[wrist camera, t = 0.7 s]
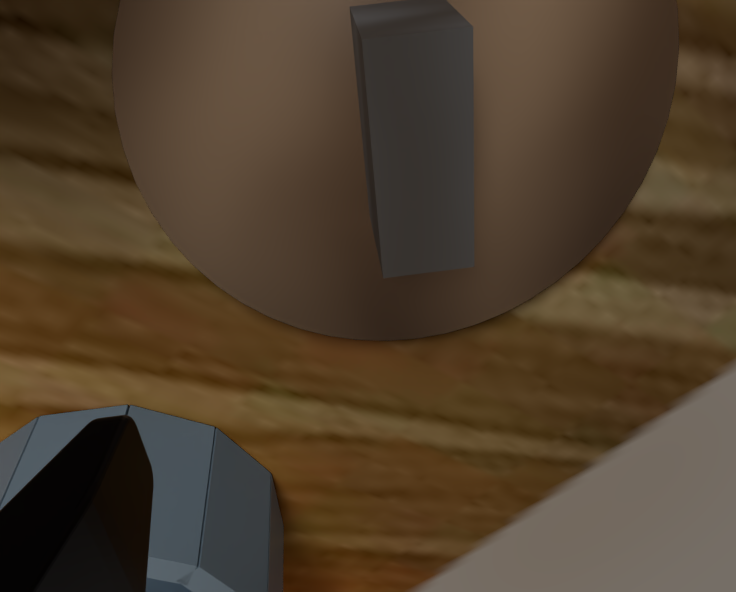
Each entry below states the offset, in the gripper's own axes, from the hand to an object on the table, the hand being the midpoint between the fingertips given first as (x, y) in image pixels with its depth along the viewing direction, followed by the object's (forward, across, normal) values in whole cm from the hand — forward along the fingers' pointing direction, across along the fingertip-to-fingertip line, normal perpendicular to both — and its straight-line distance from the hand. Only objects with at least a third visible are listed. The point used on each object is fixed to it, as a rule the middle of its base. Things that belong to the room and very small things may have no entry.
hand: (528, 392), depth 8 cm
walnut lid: (+11, 0, 0) cm, 11 cm away
